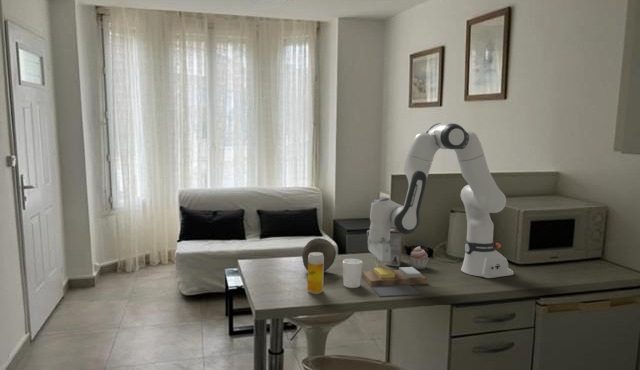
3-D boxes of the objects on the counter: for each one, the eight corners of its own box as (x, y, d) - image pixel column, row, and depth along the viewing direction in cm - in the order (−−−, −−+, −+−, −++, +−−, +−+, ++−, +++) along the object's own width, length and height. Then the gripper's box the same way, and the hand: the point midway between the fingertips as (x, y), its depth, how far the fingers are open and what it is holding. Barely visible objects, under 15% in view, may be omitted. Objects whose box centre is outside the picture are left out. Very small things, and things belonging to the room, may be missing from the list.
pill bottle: (307, 288, 186) (307, 251, 185) (322, 288, 187) (323, 251, 185) (307, 294, 180) (308, 256, 179) (323, 294, 181) (324, 255, 179)
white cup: (355, 290, 186) (356, 265, 185) (338, 286, 191) (339, 261, 189) (364, 284, 193) (365, 260, 192) (347, 280, 197) (348, 257, 196)
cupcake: (432, 269, 215) (433, 248, 214) (414, 271, 212) (415, 249, 211) (421, 263, 224) (422, 243, 223) (404, 265, 221) (405, 244, 219)
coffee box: (387, 260, 229) (388, 227, 227) (400, 261, 228) (402, 228, 226) (386, 265, 220) (387, 231, 218) (400, 266, 219) (401, 232, 217)
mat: (408, 285, 193) (408, 284, 193) (419, 294, 183) (419, 293, 183) (370, 287, 190) (370, 286, 190) (379, 296, 179) (380, 295, 179)
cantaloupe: (316, 280, 197) (317, 244, 195) (295, 271, 208) (296, 238, 206) (341, 273, 207) (342, 239, 205) (319, 265, 217) (320, 233, 215)
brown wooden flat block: (414, 274, 207) (415, 269, 207) (426, 283, 195) (426, 278, 195) (361, 277, 202) (362, 271, 202) (370, 286, 190) (370, 280, 190)
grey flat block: (412, 270, 205) (412, 266, 205) (420, 277, 196) (420, 273, 196) (398, 271, 204) (399, 267, 203) (407, 277, 195) (407, 273, 195)
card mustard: (387, 270, 204) (387, 267, 203) (394, 277, 195) (394, 273, 195) (373, 271, 202) (373, 267, 202) (380, 278, 194) (380, 274, 193)
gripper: (395, 241, 194) (393, 273, 196) (379, 230, 214) (378, 259, 216) (380, 241, 193) (379, 274, 195) (365, 230, 213) (364, 260, 215)
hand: (378, 266), depth 205 cm, fingers closed
